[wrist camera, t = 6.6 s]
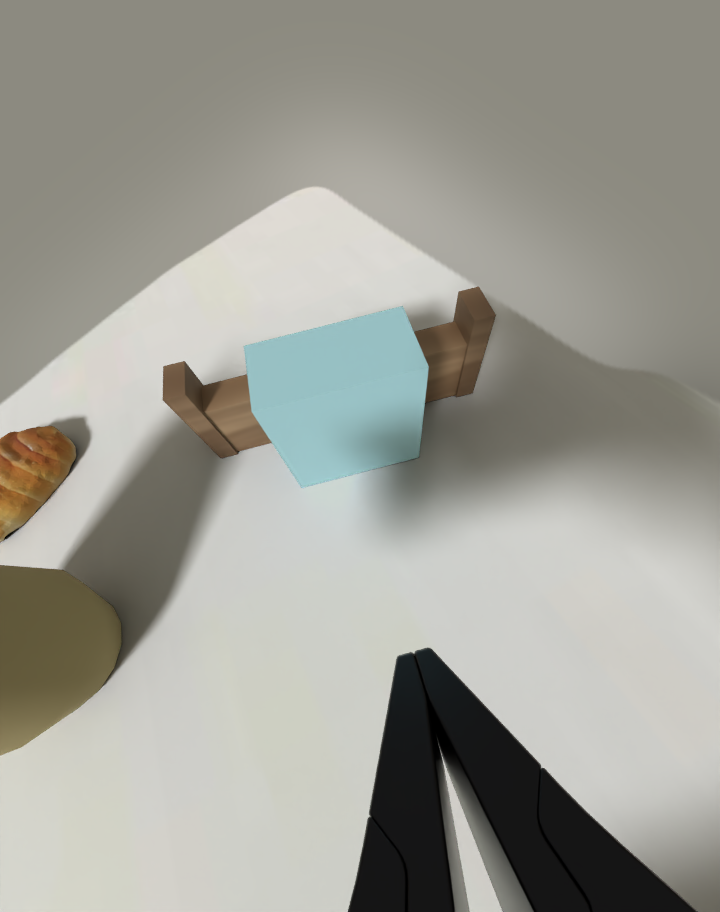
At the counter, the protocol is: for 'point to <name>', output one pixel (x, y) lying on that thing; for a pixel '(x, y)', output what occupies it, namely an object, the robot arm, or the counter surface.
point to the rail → (228, 402)
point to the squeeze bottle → (50, 649)
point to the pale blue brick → (341, 395)
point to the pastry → (30, 472)
